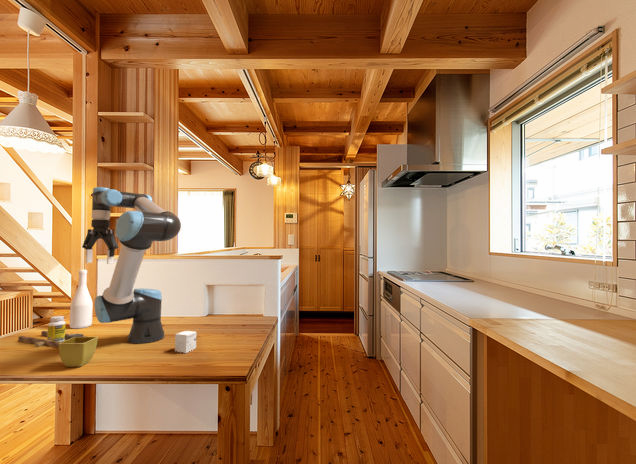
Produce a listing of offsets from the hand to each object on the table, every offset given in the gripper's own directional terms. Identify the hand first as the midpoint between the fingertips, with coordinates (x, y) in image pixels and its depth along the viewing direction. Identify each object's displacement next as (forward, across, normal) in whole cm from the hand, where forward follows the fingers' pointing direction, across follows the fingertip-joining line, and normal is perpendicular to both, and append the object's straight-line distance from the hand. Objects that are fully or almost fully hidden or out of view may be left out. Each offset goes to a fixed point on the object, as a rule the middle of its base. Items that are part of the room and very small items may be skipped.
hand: (99, 263), depth 155 cm
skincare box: (+35, -54, +3) cm, 64 cm away
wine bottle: (+35, +23, -9) cm, 43 cm away
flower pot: (+35, -28, +29) cm, 53 cm away
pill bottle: (+35, +8, +13) cm, 38 cm away
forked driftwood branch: (+35, +8, +13) cm, 38 cm away
